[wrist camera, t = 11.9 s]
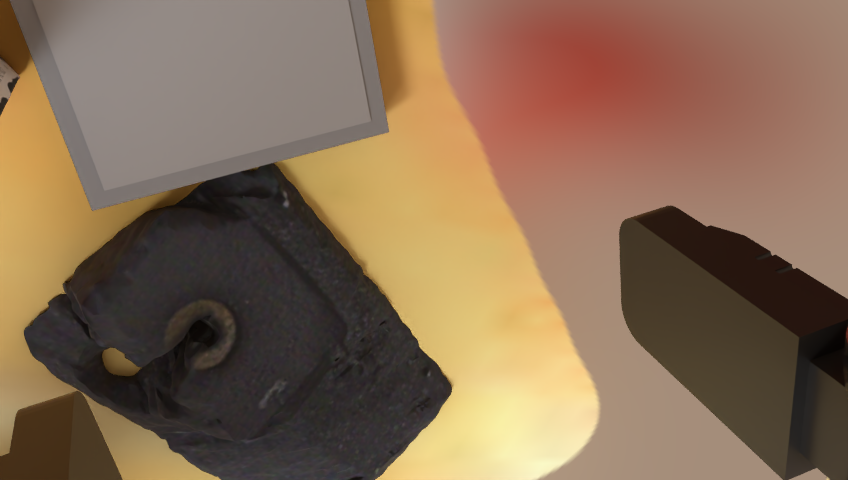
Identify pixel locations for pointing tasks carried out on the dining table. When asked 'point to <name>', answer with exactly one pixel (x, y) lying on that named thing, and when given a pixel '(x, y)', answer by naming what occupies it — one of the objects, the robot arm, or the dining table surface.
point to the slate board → (200, 85)
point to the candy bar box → (6, 83)
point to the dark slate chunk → (244, 338)
